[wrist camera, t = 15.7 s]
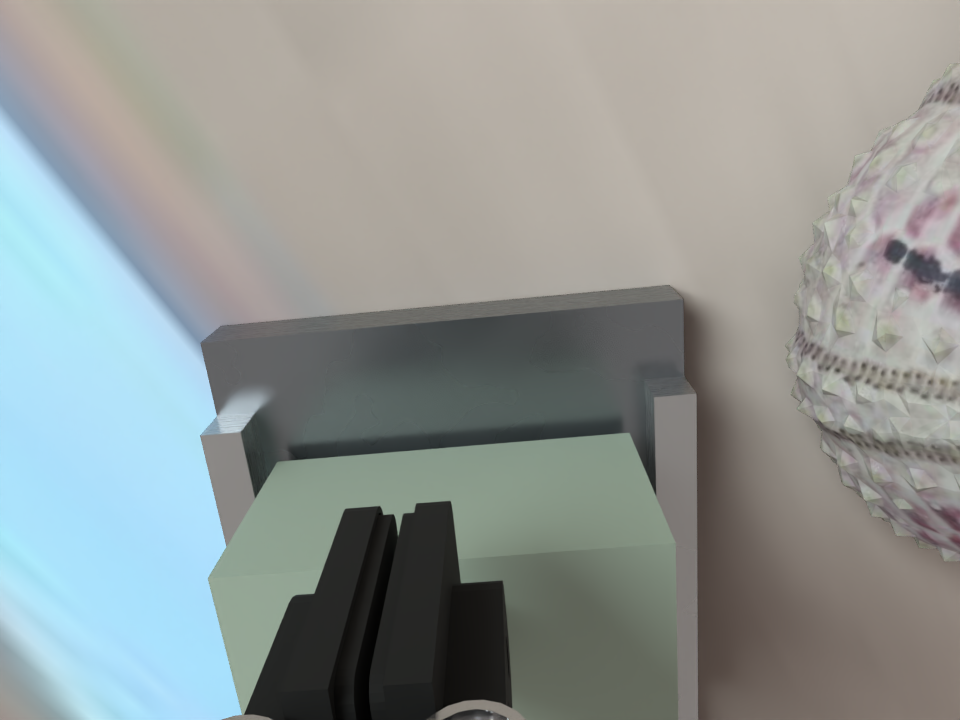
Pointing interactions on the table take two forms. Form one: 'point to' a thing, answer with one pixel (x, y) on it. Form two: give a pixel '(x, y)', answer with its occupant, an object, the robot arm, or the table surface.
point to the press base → (466, 399)
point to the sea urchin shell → (891, 324)
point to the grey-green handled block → (490, 563)
